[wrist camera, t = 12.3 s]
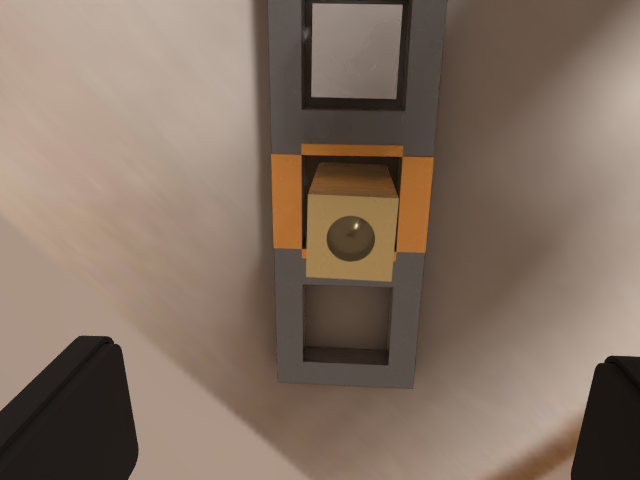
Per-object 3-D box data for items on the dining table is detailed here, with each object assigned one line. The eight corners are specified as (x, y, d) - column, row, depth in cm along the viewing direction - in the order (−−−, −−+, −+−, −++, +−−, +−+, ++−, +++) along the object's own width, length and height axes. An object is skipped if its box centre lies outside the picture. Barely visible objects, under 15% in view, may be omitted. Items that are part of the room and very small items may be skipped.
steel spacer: (393, 17, 26) (402, 4, 21) (388, 94, 27) (396, 99, 22) (319, 16, 26) (312, 3, 21) (318, 92, 27) (311, 97, 22)
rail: (444, -37, 24) (451, -46, 23) (409, 372, 33) (413, 390, 31) (272, -36, 25) (265, -45, 23) (281, 366, 33) (277, 384, 31)
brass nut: (386, 165, 28) (399, 198, 21) (381, 228, 30) (391, 281, 22) (319, 162, 28) (307, 194, 21) (317, 225, 30) (305, 277, 22)
